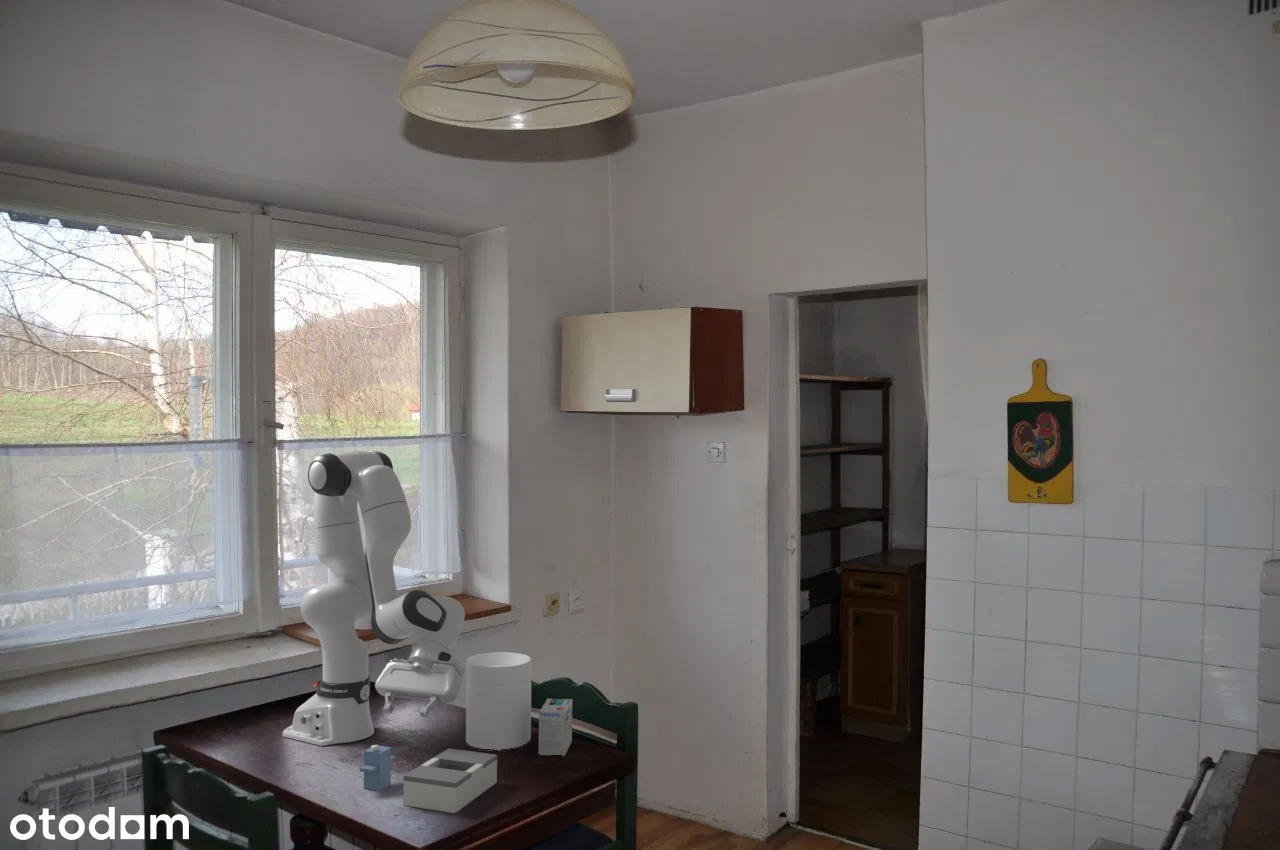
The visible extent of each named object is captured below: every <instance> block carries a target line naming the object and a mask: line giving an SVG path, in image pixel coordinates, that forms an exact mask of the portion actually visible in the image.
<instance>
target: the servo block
mask: <svg viewBox="0 0 1280 850" xmlns="http://www.w3.org/2000/svg"><path fill="white" fill-rule="evenodd" d="M395 760H396V758H395V756H392V747H390V746H383V745H379V744H373V745H371V747H369V748H368V749H366V750H364V751H363V765H362V766H361V767H359V772H362V773H363V790H364V789H365V790H370V791H378V792H381V791H382V790H384V789H385V788H387V787H389V786H390V785H391V781H392V780H391V776H392V775H391V773H392V772H391V770H392V769H391V767H392V764H391V763H392V762H394V761H395Z"/></svg>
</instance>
